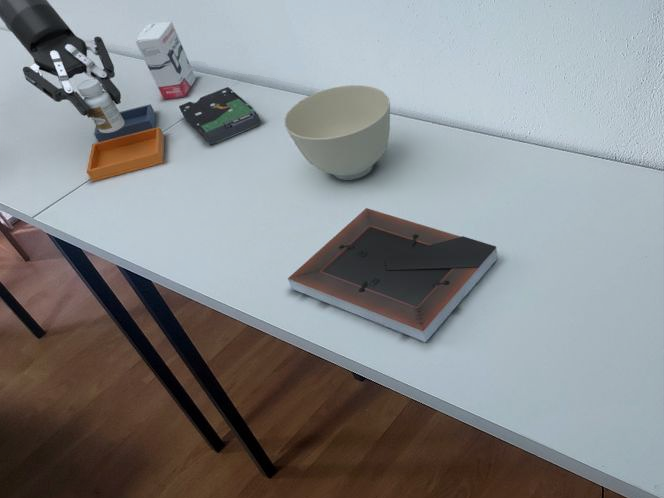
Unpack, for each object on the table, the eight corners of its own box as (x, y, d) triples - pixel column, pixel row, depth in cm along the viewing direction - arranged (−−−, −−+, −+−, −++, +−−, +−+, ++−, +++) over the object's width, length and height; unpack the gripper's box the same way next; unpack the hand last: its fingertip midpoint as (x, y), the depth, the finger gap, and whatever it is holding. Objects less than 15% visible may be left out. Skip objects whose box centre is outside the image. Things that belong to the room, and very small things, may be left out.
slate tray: (99, 144, 120) (93, 134, 118) (103, 127, 124) (97, 117, 123) (154, 130, 121) (149, 120, 119) (155, 113, 126) (150, 104, 124)
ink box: (186, 97, 129) (158, 37, 120) (162, 100, 129) (133, 40, 121) (197, 78, 135) (171, 19, 126) (174, 81, 135) (147, 23, 126)
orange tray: (92, 181, 110) (86, 171, 109) (98, 153, 117) (92, 143, 115) (163, 163, 112) (158, 152, 110) (164, 136, 118) (159, 126, 117)
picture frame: (498, 260, 83) (370, 220, 92) (496, 245, 81) (366, 206, 90) (426, 345, 74) (293, 291, 84) (422, 330, 72) (287, 277, 82)
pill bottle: (94, 132, 110) (68, 88, 104) (113, 119, 112) (88, 76, 106) (112, 135, 108) (86, 91, 102) (130, 122, 110) (106, 78, 105)
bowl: (402, 190, 97) (388, 129, 89) (299, 205, 97) (277, 146, 90) (402, 136, 108) (390, 78, 100) (309, 150, 108) (290, 93, 101)
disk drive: (183, 120, 122) (210, 146, 113) (177, 106, 120) (203, 132, 111) (233, 99, 126) (263, 124, 117) (227, 85, 124) (257, 109, 115)
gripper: (-18, 22, 97) (61, 116, 100) (70, -12, 103) (142, 78, 106) (-7, 50, 104) (67, 138, 106) (75, 17, 110) (143, 100, 112)
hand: (104, 107), depth 106 cm, fingers closed on pill bottle, 4 cm apart
